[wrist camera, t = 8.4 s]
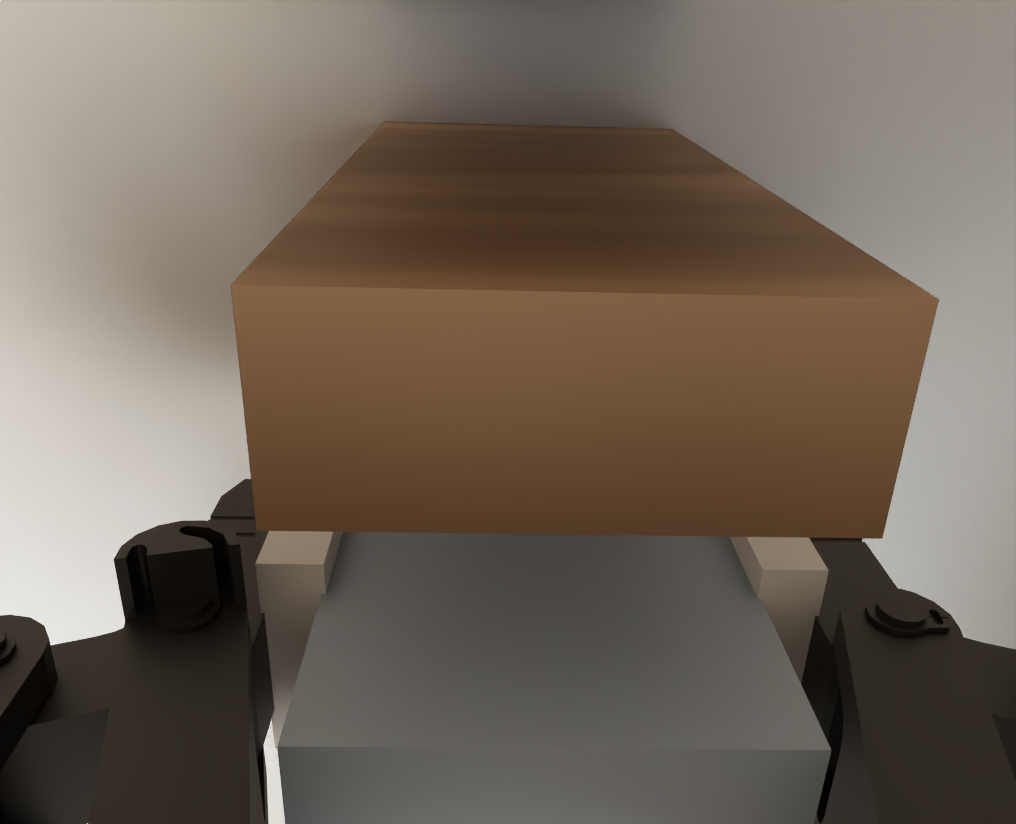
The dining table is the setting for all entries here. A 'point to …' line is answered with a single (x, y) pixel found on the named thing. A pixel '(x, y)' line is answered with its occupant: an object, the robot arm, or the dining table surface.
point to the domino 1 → (570, 346)
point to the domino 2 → (546, 687)
